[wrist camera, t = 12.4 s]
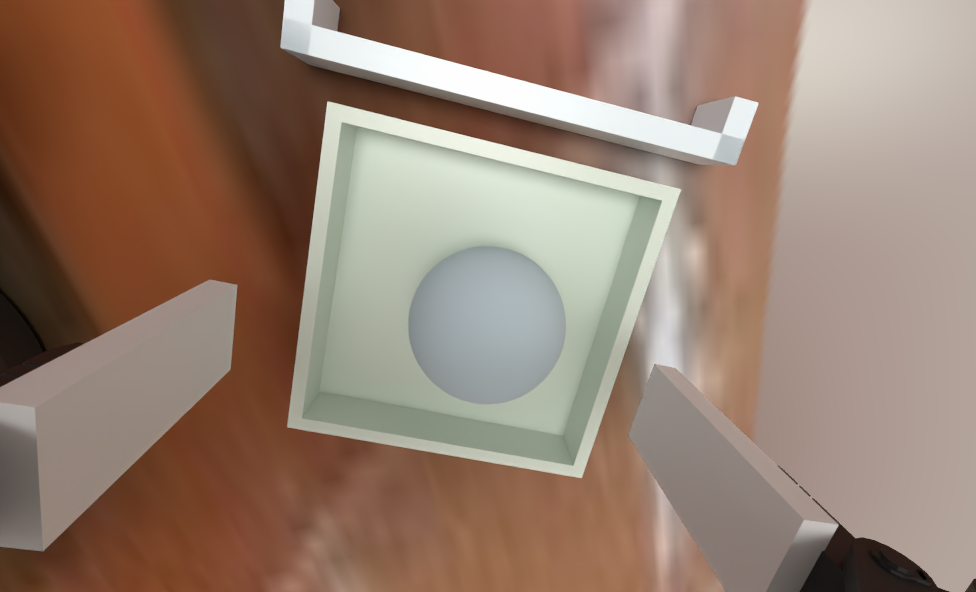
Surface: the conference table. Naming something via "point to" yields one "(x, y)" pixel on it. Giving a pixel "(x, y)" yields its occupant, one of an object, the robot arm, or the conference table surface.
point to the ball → (487, 325)
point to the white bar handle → (514, 92)
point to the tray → (433, 237)
